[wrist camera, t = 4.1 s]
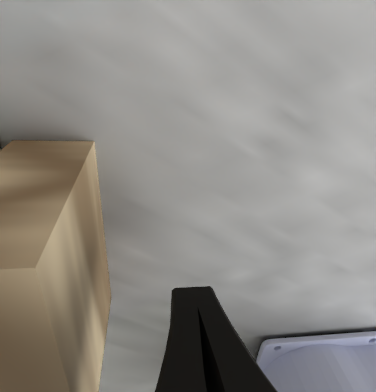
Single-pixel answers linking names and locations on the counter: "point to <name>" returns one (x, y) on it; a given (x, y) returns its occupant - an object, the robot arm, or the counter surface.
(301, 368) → the robot arm
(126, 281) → the counter surface
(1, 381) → the maple tile
